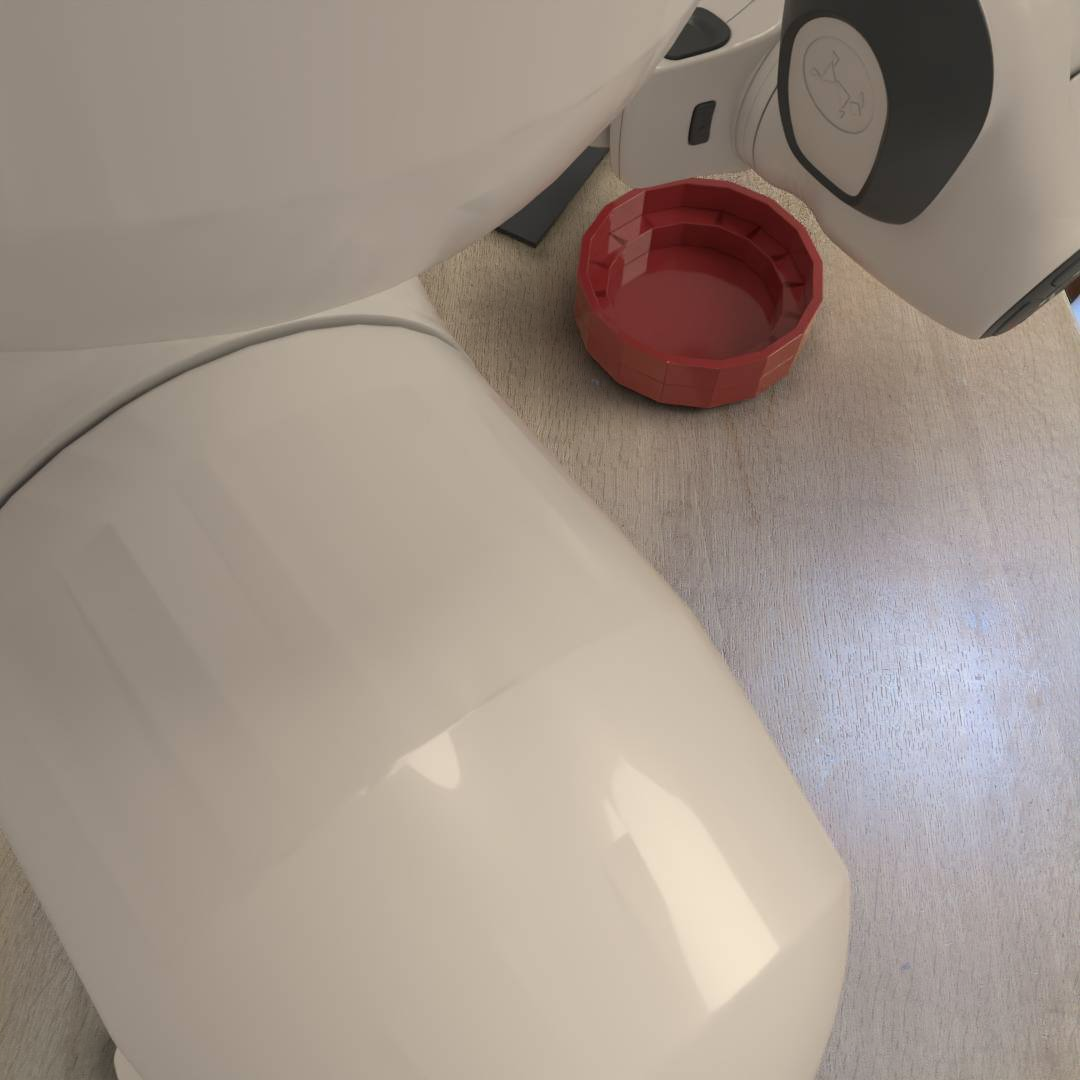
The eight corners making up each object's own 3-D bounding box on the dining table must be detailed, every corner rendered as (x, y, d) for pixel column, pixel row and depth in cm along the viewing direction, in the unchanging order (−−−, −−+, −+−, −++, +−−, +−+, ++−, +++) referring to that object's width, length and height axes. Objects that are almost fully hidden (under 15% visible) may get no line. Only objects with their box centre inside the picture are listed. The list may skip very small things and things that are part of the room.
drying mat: (535, 247, 66) (535, 243, 66) (405, 189, 68) (404, 184, 68) (635, 115, 72) (636, 110, 71) (511, 64, 74) (511, 60, 74)
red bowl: (746, 450, 60) (762, 406, 56) (533, 350, 63) (534, 301, 59) (839, 284, 65) (860, 234, 61) (640, 200, 68) (647, 146, 64)
